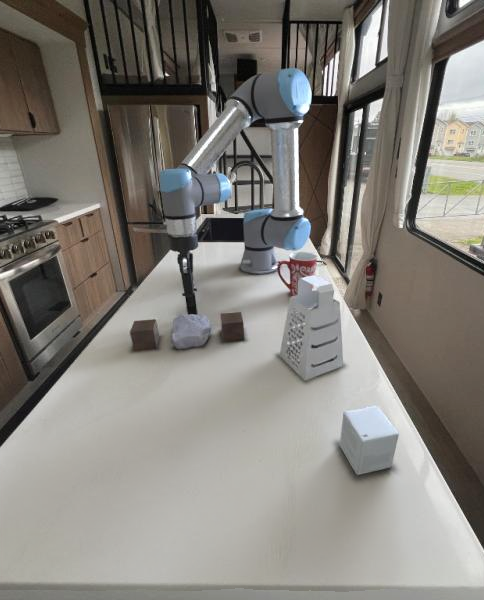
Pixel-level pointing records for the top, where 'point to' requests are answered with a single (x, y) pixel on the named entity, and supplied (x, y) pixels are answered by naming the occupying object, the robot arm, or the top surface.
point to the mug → (298, 269)
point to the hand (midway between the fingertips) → (192, 313)
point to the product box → (368, 439)
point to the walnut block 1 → (144, 334)
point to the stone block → (190, 331)
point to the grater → (313, 328)
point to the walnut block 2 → (232, 326)
